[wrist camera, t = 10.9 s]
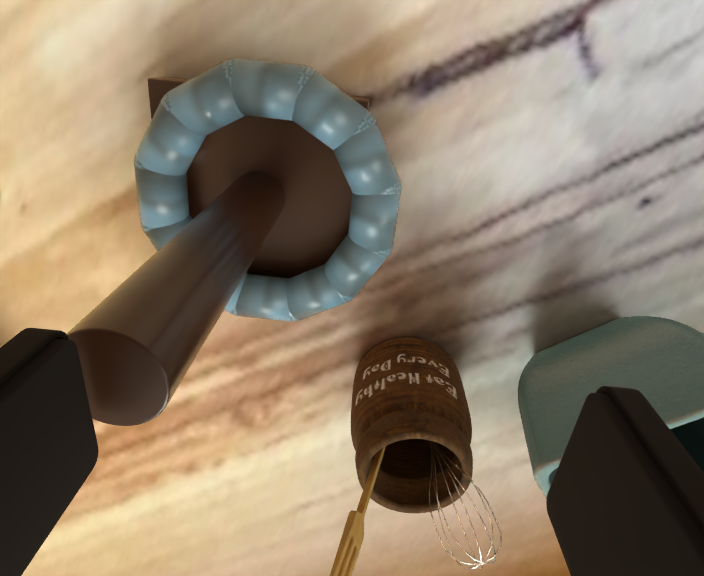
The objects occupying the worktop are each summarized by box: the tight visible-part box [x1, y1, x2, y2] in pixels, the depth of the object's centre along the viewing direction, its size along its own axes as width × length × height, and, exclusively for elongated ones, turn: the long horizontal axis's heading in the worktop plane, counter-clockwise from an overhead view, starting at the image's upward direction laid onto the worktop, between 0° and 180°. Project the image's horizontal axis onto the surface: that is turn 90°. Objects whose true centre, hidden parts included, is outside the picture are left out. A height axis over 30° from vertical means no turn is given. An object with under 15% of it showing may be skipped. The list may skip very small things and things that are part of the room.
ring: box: [134, 58, 401, 322], centre depth 20 cm, size 11×11×2 cm
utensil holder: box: [330, 337, 502, 576], centre depth 21 cm, size 6×6×12 cm
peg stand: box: [66, 77, 370, 426], centre depth 16 cm, size 9×9×14 cm
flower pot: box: [518, 316, 704, 499], centre depth 22 cm, size 9×9×9 cm
